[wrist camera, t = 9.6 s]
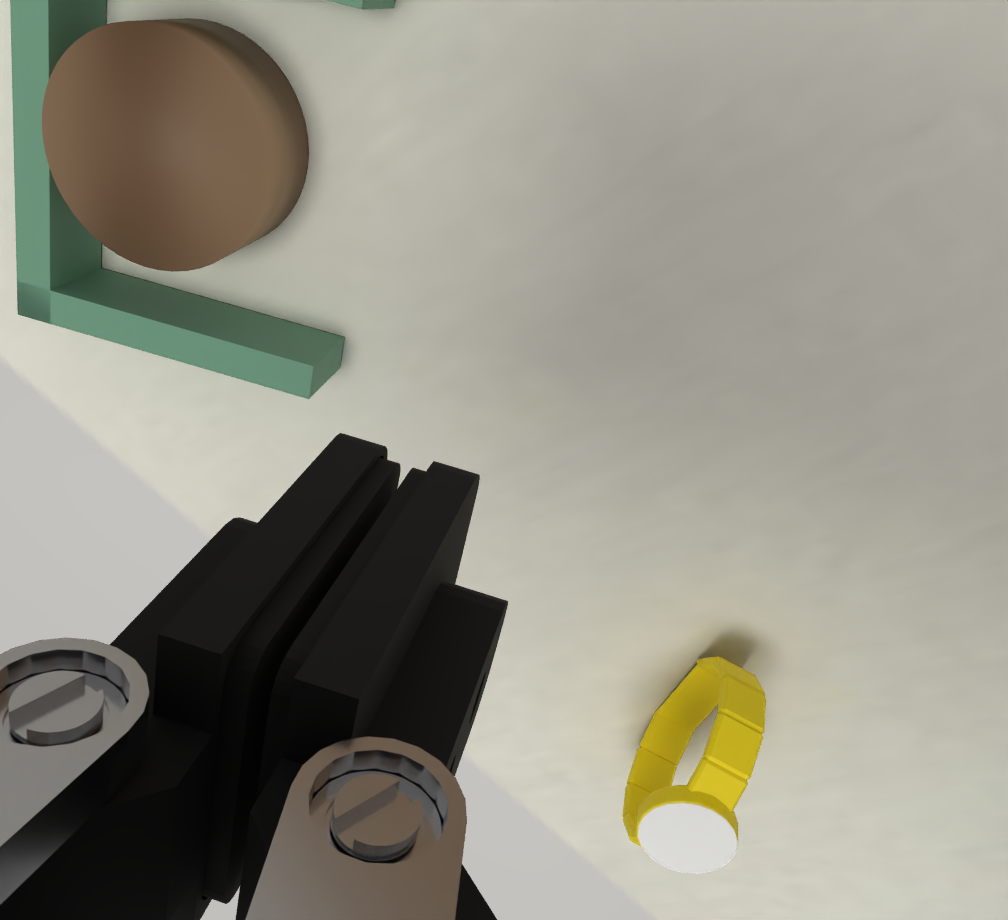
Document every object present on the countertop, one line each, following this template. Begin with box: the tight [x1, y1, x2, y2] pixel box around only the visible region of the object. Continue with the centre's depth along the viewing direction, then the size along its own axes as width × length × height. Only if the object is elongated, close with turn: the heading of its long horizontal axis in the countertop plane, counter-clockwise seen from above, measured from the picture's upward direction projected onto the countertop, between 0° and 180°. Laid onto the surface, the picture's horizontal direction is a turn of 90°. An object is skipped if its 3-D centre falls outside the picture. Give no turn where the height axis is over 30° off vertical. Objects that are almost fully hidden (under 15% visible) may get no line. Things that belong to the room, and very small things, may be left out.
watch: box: [623, 656, 766, 874], centre depth 29 cm, size 6×3×6 cm, turn 153°
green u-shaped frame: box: [10, 0, 395, 399], centre depth 25 cm, size 9×11×2 cm
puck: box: [42, 19, 309, 271], centre depth 25 cm, size 6×6×3 cm
